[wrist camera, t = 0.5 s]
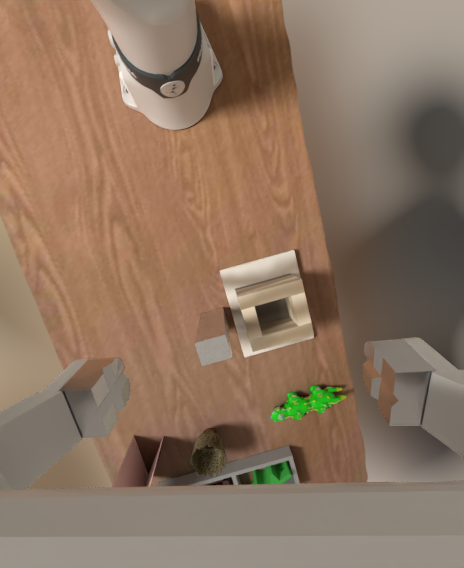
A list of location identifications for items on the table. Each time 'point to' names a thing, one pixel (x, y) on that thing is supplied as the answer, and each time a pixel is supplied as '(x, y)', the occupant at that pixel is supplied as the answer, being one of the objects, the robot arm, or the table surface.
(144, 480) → the greeting card
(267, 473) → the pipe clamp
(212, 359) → the grey rectangular bar
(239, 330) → the square socket base
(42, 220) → the table surface
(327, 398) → the crocodile figurine
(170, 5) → the robot arm
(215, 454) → the cup
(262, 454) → the parts tray
